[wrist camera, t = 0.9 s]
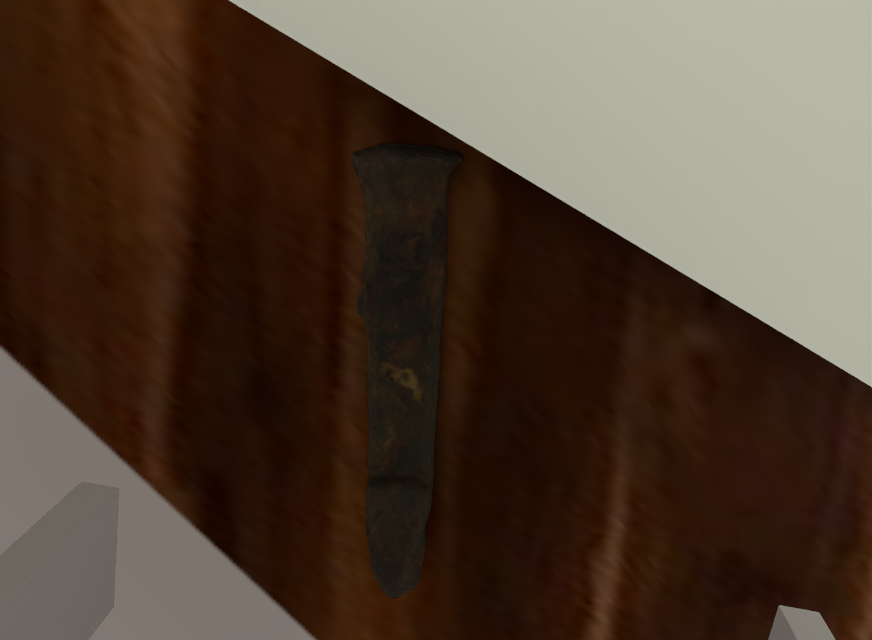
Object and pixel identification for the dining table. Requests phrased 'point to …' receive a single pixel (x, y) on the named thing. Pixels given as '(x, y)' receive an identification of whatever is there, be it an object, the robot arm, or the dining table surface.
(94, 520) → the robot arm
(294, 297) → the dining table surface
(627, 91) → the low shelf
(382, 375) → the hand tool
